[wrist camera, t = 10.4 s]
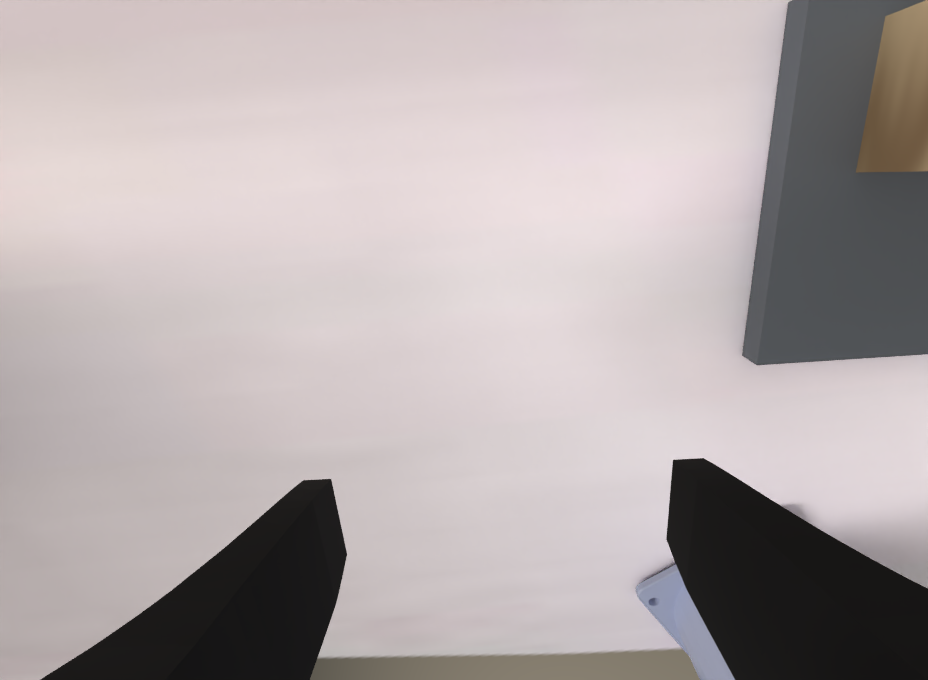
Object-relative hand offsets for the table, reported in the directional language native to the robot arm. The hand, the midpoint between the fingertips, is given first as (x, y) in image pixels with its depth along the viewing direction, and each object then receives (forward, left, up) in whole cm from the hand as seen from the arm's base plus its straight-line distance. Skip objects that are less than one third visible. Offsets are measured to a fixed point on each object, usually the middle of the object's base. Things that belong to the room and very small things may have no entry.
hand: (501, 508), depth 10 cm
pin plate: (-4, -15, -9) cm, 18 cm away
